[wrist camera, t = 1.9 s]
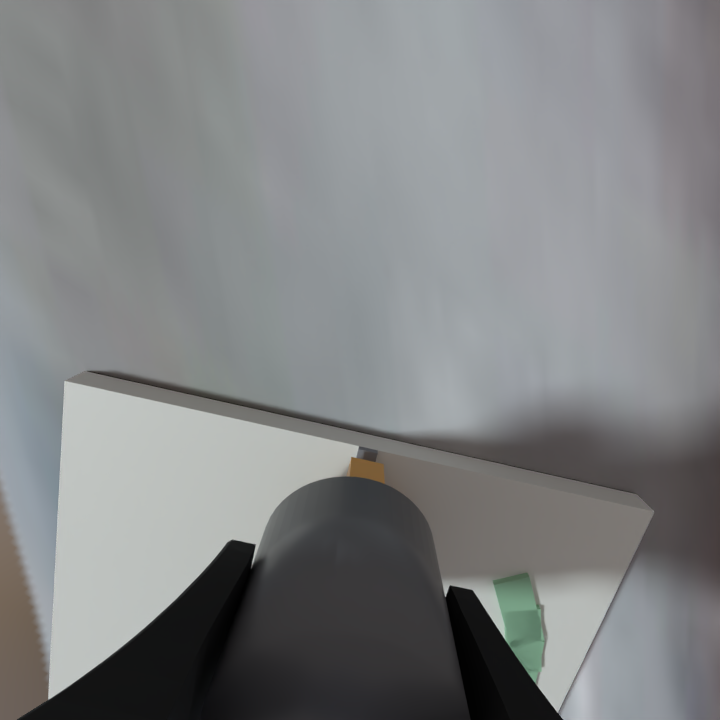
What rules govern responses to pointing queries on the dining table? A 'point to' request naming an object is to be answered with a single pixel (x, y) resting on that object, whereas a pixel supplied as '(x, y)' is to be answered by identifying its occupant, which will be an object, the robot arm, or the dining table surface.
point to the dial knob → (341, 613)
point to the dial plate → (276, 482)
